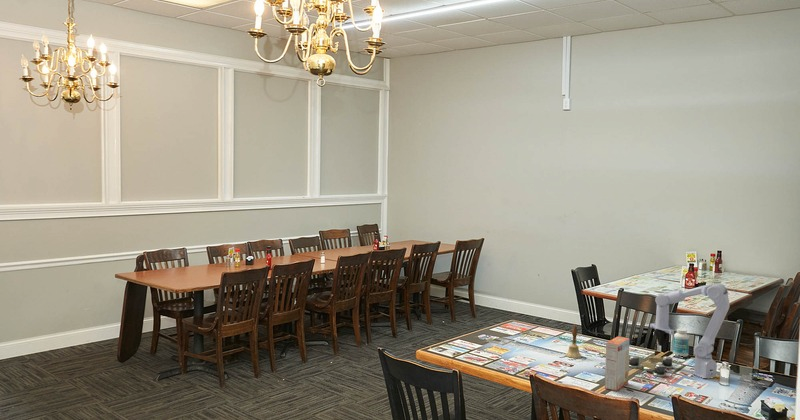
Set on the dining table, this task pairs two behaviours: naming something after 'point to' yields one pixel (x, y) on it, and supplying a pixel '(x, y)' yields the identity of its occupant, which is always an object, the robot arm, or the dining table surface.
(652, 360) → the knob
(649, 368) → the levelling base
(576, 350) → the hand bell
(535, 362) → the dining table surface
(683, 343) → the pill bottle
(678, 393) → the dining table surface
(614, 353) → the cracker box
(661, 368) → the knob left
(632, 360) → the knob
